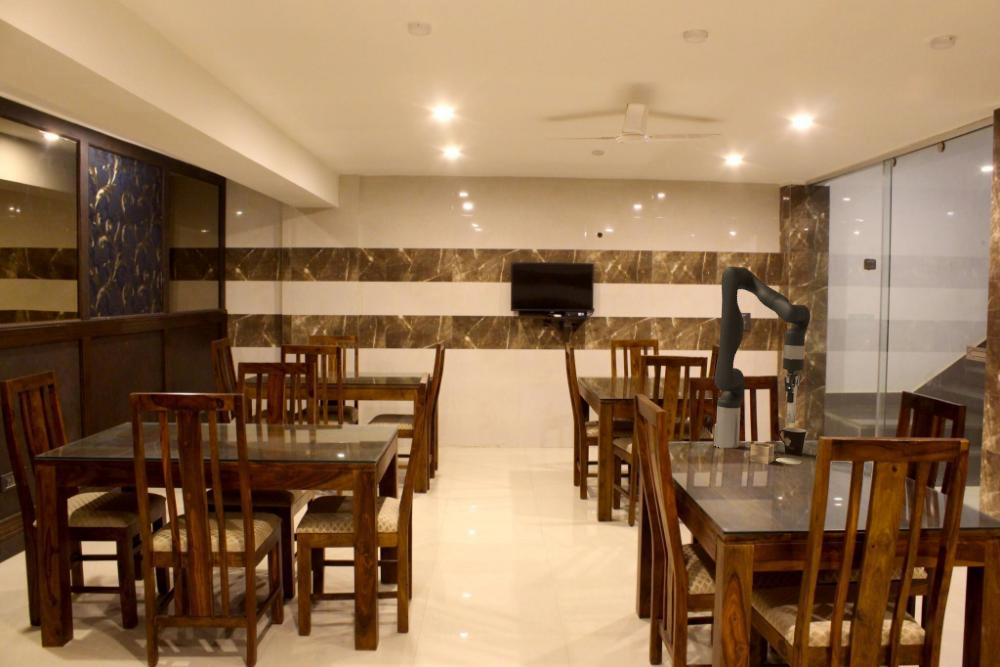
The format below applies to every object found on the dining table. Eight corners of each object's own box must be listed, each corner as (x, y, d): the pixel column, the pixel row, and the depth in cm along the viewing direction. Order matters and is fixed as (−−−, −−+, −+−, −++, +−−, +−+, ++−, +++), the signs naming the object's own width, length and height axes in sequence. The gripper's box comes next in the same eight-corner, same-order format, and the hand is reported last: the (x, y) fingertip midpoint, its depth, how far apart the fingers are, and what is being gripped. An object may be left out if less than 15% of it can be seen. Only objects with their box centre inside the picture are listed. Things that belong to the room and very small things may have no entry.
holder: (749, 463, 274) (750, 445, 274) (755, 460, 279) (756, 442, 279) (767, 466, 270) (768, 447, 270) (773, 462, 275) (773, 445, 275)
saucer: (772, 463, 275) (773, 460, 275) (780, 459, 282) (780, 456, 282) (797, 467, 269) (797, 464, 269) (804, 463, 276) (804, 460, 276)
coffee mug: (808, 457, 287) (809, 432, 286) (786, 456, 287) (787, 431, 286) (796, 450, 298) (798, 426, 298) (776, 449, 298) (777, 426, 298)
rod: (785, 422, 274) (787, 385, 273) (787, 421, 277) (789, 385, 276) (793, 423, 272) (795, 386, 271) (796, 422, 275) (797, 386, 274)
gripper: (789, 355, 281) (786, 399, 282) (778, 357, 270) (775, 403, 271) (809, 356, 276) (807, 401, 277) (798, 359, 265) (796, 405, 266)
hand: (791, 402), depth 274 cm, fingers closed on rod, 3 cm apart
